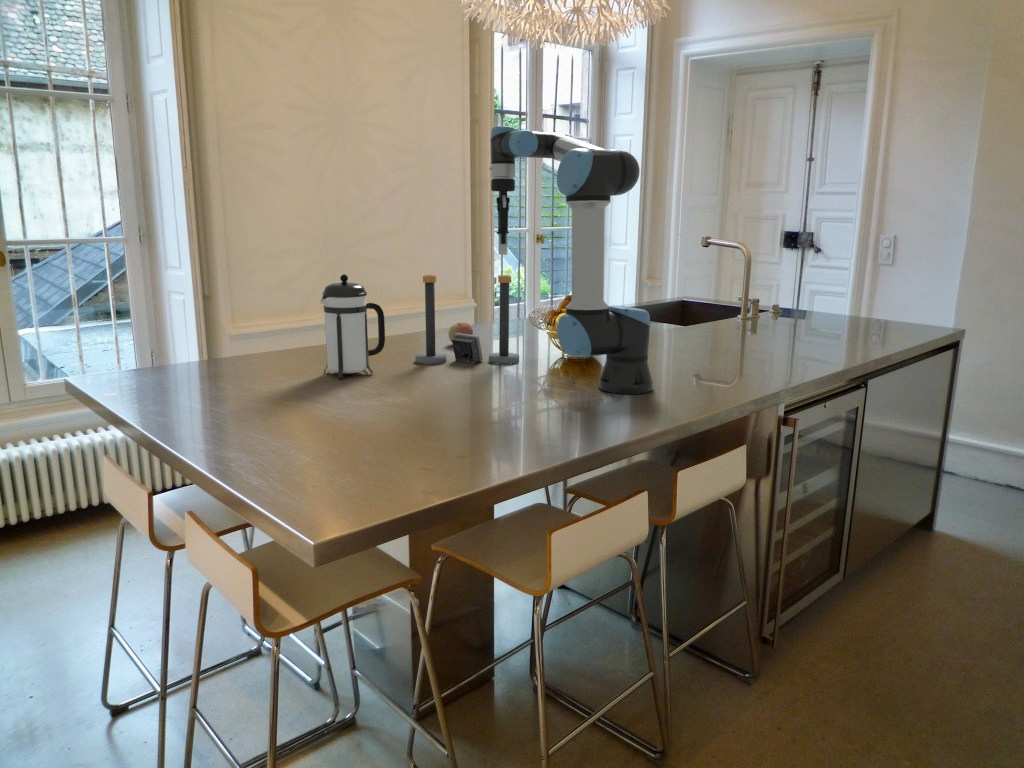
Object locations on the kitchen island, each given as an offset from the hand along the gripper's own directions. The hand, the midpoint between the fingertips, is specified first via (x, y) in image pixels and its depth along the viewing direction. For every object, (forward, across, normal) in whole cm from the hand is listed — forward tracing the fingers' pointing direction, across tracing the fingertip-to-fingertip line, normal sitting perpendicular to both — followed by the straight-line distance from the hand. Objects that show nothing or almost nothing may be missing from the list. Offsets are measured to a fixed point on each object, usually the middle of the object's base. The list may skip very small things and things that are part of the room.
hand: (502, 254), depth 243 cm
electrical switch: (+35, +2, -12) cm, 37 cm away
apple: (+34, -27, -13) cm, 46 cm away
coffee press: (+35, +18, -47) cm, 61 cm away
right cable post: (+35, +2, 0) cm, 35 cm away
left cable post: (+35, +1, -24) cm, 42 cm away
